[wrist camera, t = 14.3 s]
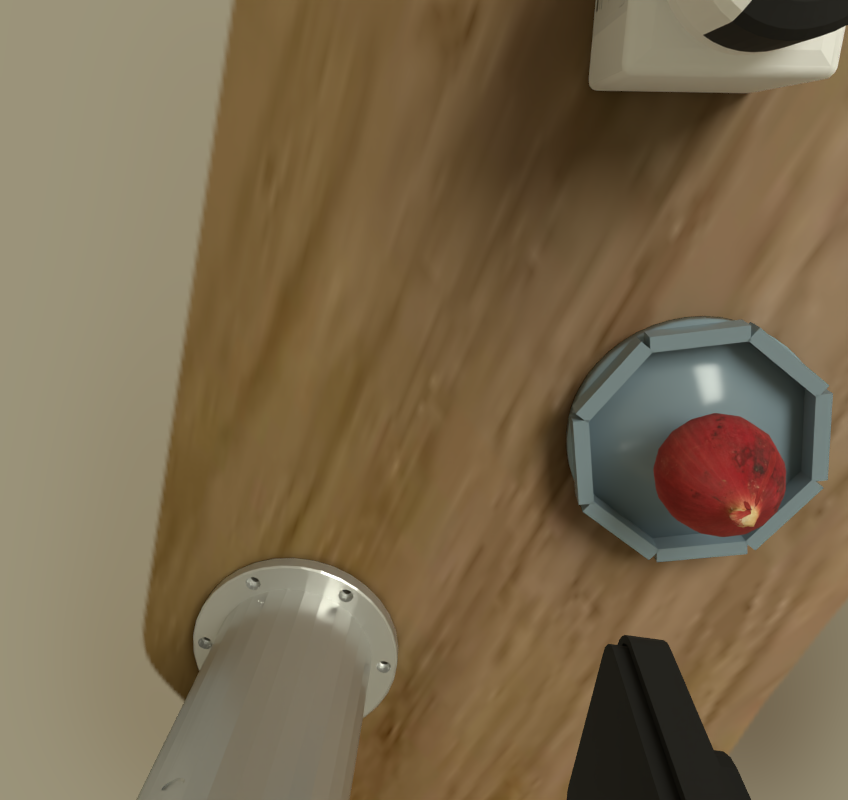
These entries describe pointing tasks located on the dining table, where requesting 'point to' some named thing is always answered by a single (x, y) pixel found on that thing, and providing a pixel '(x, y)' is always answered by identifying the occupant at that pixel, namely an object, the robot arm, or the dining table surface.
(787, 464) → the dish
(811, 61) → the container
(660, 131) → the dining table surface
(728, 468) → the onion
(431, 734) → the dining table surface
